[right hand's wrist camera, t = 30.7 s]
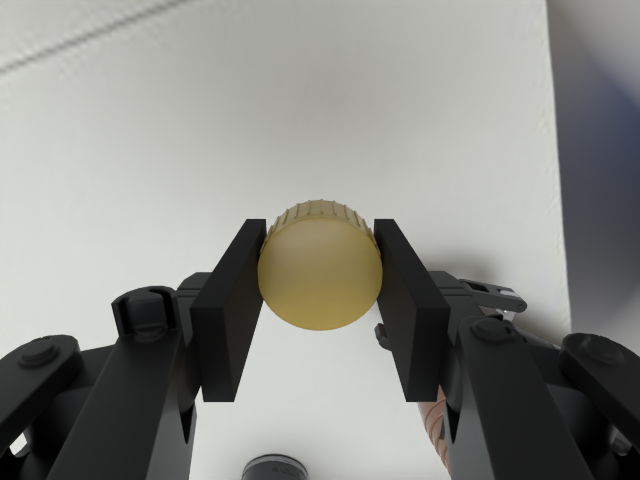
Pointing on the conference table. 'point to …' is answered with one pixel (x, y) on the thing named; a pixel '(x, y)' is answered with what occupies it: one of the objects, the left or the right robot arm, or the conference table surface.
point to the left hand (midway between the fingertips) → (392, 310)
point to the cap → (320, 266)
